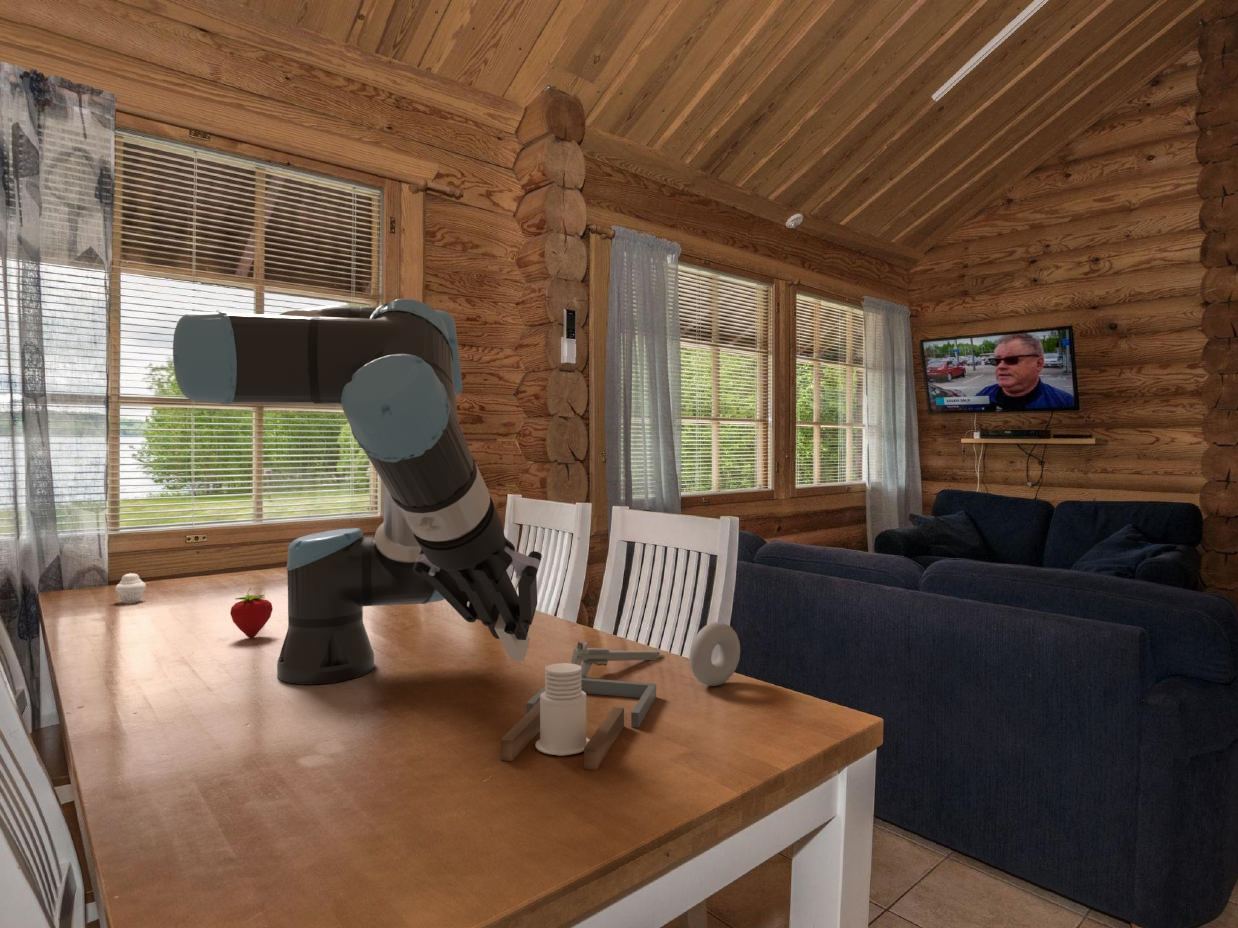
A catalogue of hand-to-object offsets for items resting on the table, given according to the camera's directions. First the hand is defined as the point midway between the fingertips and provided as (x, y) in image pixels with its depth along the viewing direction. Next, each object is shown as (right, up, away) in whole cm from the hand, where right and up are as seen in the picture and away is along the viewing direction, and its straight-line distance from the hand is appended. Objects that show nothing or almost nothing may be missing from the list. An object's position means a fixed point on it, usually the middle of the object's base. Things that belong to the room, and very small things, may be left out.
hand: (520, 649), depth 84 cm
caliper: (+11, -14, +44) cm, 48 cm away
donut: (+26, -14, +35) cm, 46 cm away
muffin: (-105, -12, +96) cm, 143 cm away
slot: (+4, -15, +13) cm, 20 cm away
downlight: (+4, -15, +12) cm, 20 cm away
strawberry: (-61, -14, +64) cm, 89 cm away
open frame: (+7, -15, +25) cm, 30 cm away
